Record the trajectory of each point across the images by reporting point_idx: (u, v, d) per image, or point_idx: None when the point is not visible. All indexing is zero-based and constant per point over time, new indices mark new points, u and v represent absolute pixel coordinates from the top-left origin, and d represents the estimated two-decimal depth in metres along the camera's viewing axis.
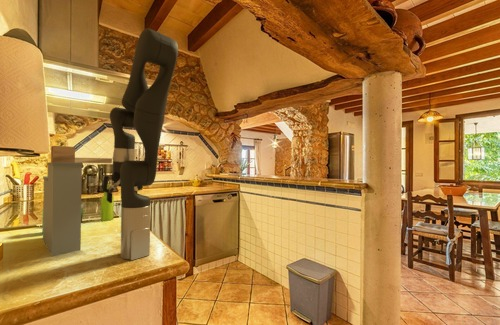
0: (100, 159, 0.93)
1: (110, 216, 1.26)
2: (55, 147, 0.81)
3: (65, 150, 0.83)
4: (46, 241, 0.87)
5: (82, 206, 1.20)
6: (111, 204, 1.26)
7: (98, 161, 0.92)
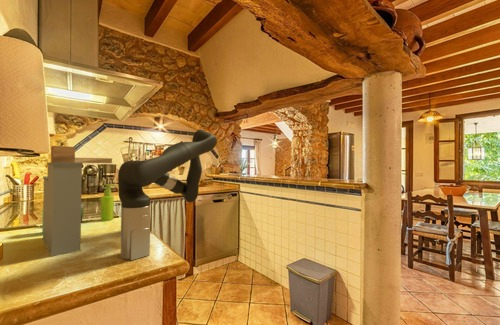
0: (100, 159, 0.93)
1: (110, 216, 1.26)
2: (55, 147, 0.81)
3: (65, 150, 0.83)
4: (46, 241, 0.87)
5: (82, 206, 1.20)
6: (111, 204, 1.26)
7: (98, 161, 0.92)
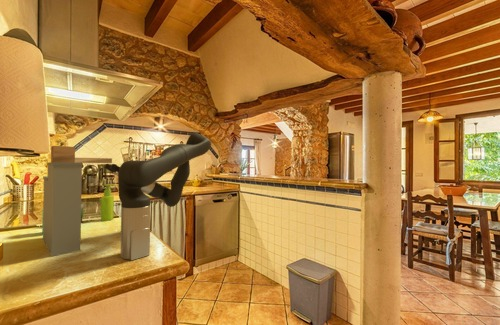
0: (100, 159, 0.93)
1: (110, 216, 1.26)
2: (55, 147, 0.81)
3: (65, 150, 0.83)
4: (46, 241, 0.87)
5: (82, 206, 1.20)
6: (111, 204, 1.26)
7: (98, 161, 0.92)
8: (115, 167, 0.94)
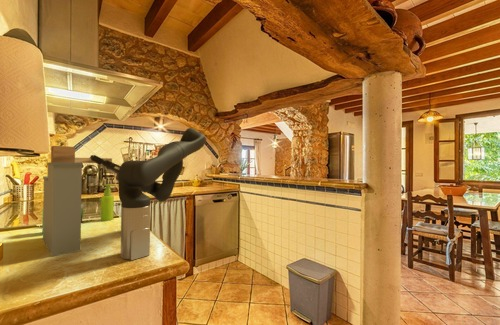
0: None
1: (110, 216, 1.26)
2: (55, 147, 0.81)
3: (65, 150, 0.83)
4: (46, 241, 0.87)
5: (82, 206, 1.20)
6: (111, 204, 1.26)
7: None
8: (96, 158, 0.91)
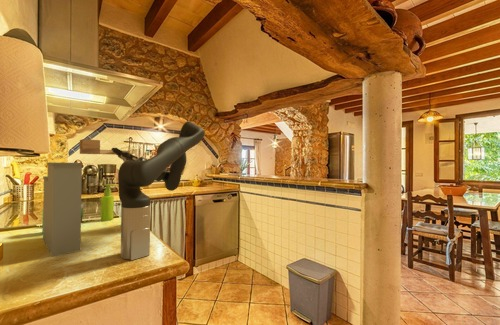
0: None
1: (110, 216, 1.26)
2: (84, 140, 0.95)
3: (92, 143, 0.97)
4: (46, 241, 0.87)
5: (82, 206, 1.20)
6: (111, 204, 1.26)
7: None
8: None
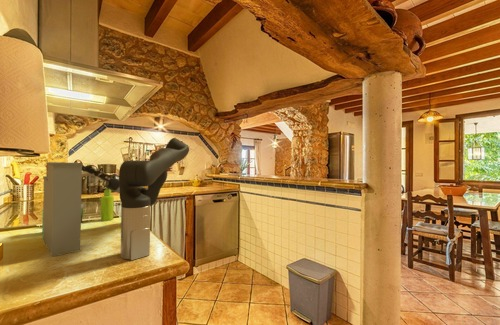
0: None
1: (110, 216, 1.26)
2: None
3: None
4: (46, 241, 0.87)
5: (82, 206, 1.20)
6: (111, 204, 1.26)
7: (89, 174, 1.03)
8: (88, 169, 1.01)
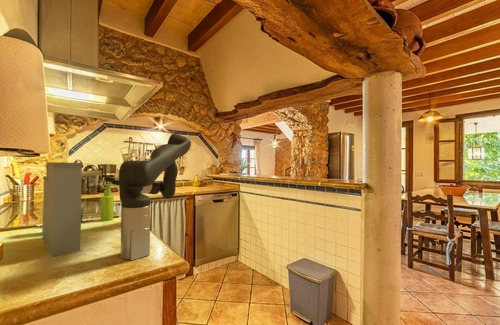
0: (91, 172, 1.03)
1: (110, 216, 1.26)
2: None
3: None
4: (46, 241, 0.87)
5: (82, 206, 1.20)
6: (111, 204, 1.26)
7: (89, 174, 1.03)
8: None
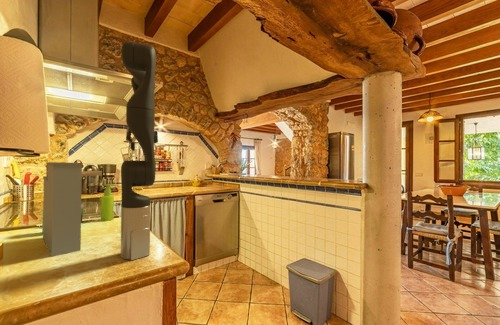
0: (91, 172, 1.03)
1: (110, 216, 1.26)
2: None
3: None
4: (46, 241, 0.87)
5: (82, 206, 1.20)
6: (111, 204, 1.26)
7: (89, 174, 1.03)
8: None
